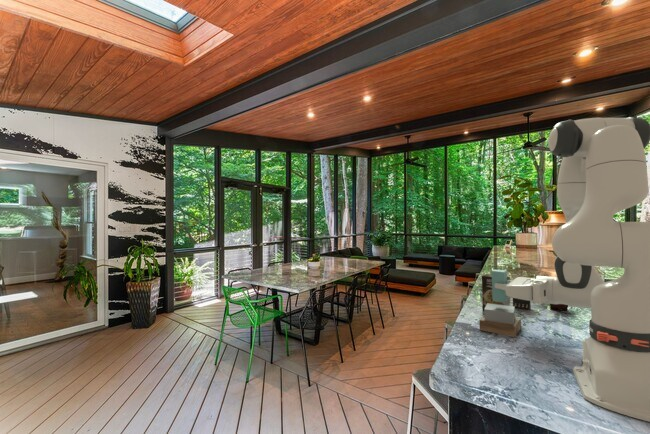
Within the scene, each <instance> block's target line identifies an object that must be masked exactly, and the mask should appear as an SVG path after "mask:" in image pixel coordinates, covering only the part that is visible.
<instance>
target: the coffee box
mask: <svg viewBox="0 0 650 434" xmlns="http://www.w3.org/2000/svg"><path fill="white" fill-rule="evenodd" d="M507 280H511V276H508V275H507ZM481 296H482V297H481V300H482V301H481V302H482V303H481V304H482V314H484V309H485V307H486V305H487V303H490V304H498V305H506V306H511V297H509V296H508V301H507V302H505V303H503V302H496V301H493V296H492V273H491V274H489V273H486V274H483V275H481Z"/></svg>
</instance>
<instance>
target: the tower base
mask: <svg viewBox="0 0 650 434" xmlns="http://www.w3.org/2000/svg"><path fill="white" fill-rule="evenodd" d="M478 320H479V321H478V322H479V323H478V324H479V327H478V328H479V330H481V331H484V332H490V333H493V334H494V333H495V334H498V335H502V336H507V337H513V338H516V336H517V335H518V334H519V332H520V330H521V328H522V318H521V317H516V316H515V321H514V325H513V324H506V323H500V322H493V321H486V320H485V316H484V315H483V316H482V317H481V318H480V319H478Z"/></svg>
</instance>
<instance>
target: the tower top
mask: <svg viewBox="0 0 650 434" xmlns="http://www.w3.org/2000/svg"><path fill="white" fill-rule="evenodd" d="M483 316H485V320H486V321H493V322H500V323H506V324H513V325H514V321H515V317H516V308H515V306H513V305H510V306H506V305H498V304H490V303H487V305H486V307H485V309H484V315H483Z"/></svg>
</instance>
